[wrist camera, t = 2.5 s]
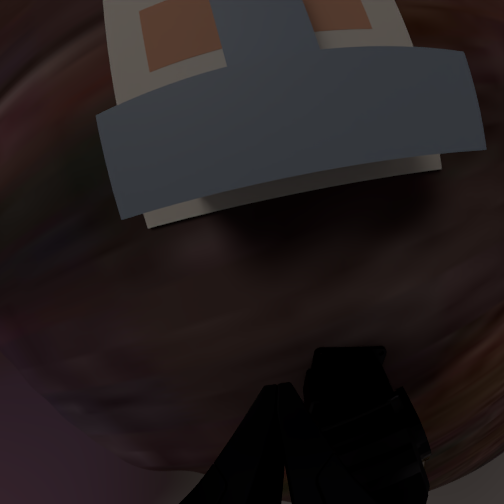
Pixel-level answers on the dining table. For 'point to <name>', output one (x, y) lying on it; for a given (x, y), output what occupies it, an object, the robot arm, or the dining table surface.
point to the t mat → (212, 57)
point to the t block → (284, 111)
